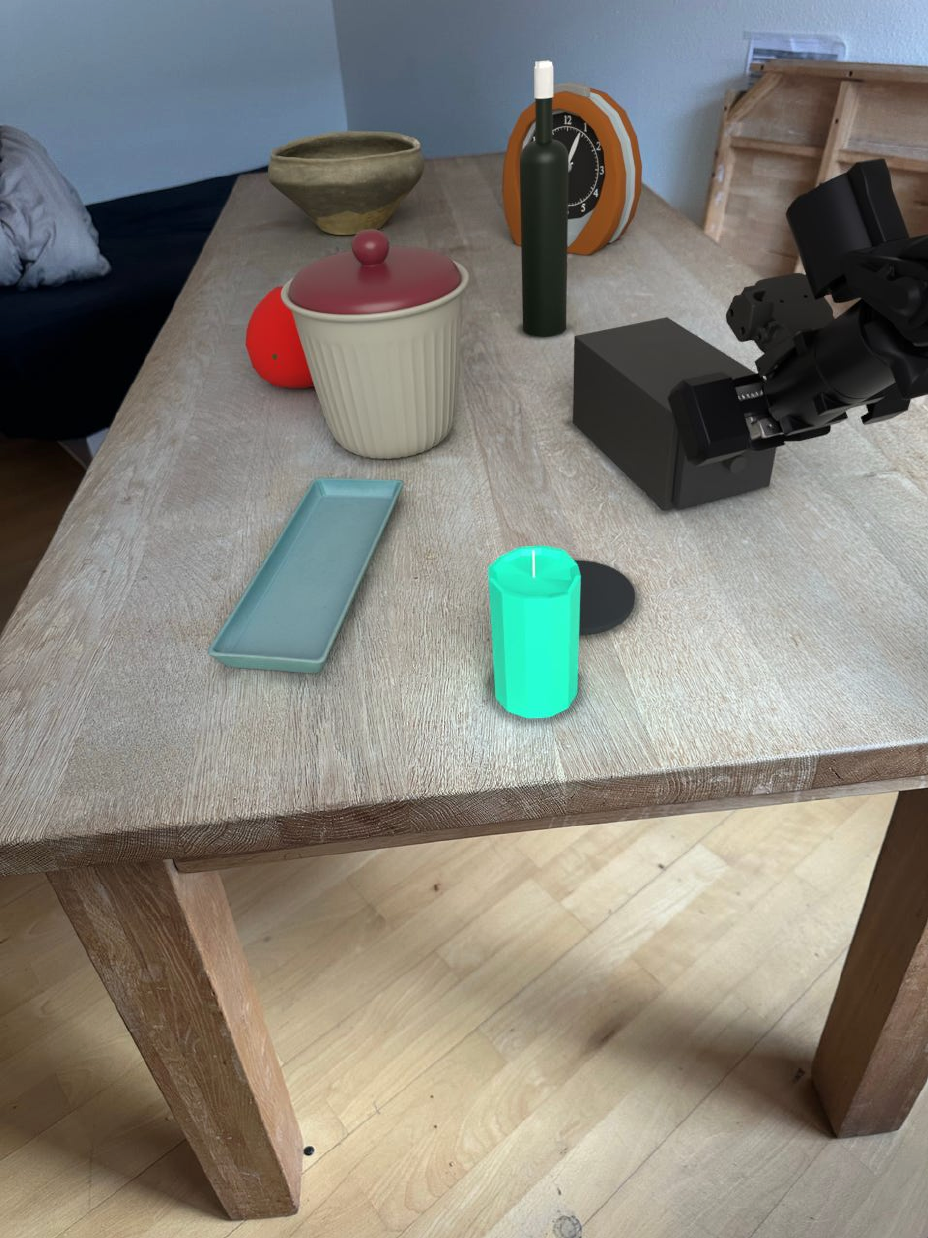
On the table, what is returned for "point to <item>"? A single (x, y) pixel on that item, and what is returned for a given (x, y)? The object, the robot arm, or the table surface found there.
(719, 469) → the drawer
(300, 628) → the rectangular tray
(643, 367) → the cabinet
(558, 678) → the candle
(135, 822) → the table surface
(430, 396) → the canister
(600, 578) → the coaster
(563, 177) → the wine bottle
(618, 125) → the alarm clock
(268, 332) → the tomato
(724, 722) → the table surface
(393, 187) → the bowl
